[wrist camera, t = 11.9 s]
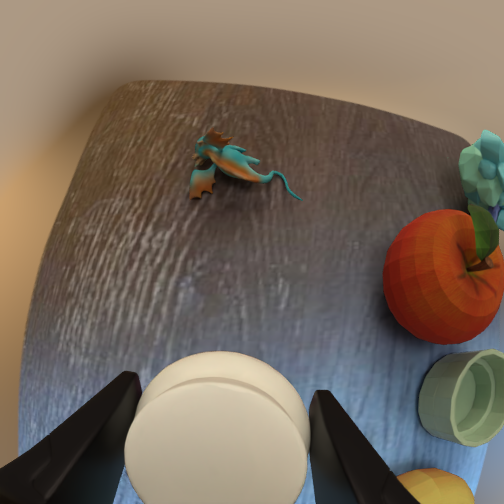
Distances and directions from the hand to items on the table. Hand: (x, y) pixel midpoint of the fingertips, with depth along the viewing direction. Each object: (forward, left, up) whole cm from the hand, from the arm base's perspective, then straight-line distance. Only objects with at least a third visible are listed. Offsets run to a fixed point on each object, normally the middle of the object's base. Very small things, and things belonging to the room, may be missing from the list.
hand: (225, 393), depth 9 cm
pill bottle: (-1, 0, -7) cm, 7 cm away
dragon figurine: (+15, 0, -13) cm, 20 cm away
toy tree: (+7, -19, -15) cm, 25 cm away
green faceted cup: (-3, -18, -13) cm, 23 cm away
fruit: (+6, -15, -13) cm, 21 cm away
